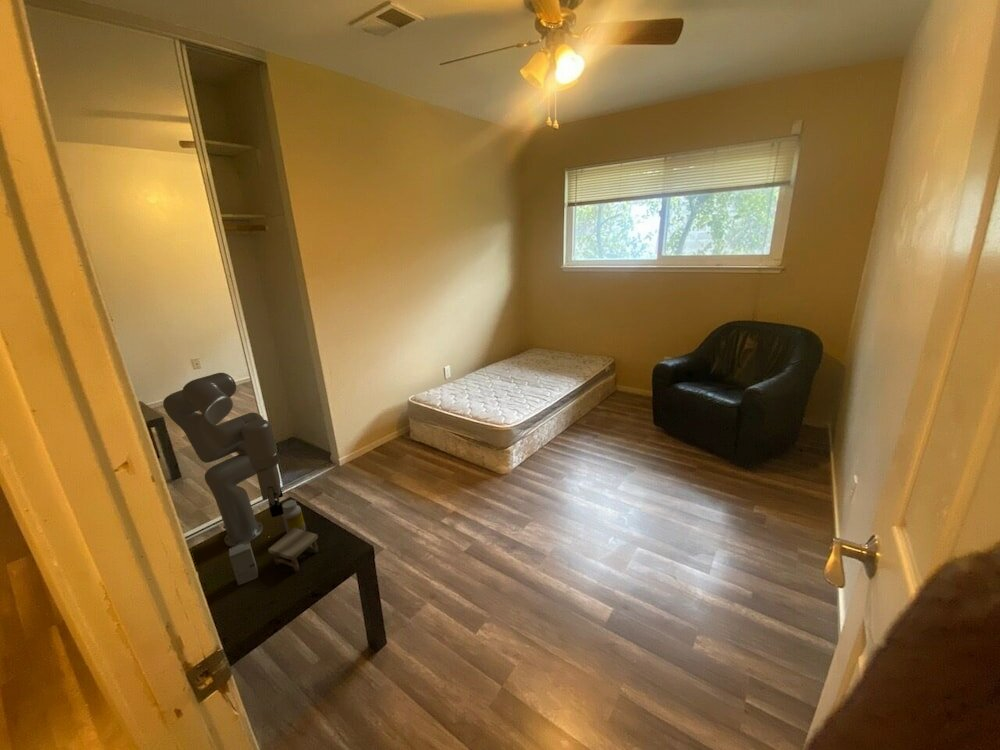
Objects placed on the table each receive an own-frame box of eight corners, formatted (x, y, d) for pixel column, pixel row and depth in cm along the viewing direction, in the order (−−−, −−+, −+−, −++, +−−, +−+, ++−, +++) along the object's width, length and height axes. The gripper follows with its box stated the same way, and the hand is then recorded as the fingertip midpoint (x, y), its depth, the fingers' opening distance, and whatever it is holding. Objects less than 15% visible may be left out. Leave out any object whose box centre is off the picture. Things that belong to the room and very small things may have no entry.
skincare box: (238, 586, 131) (227, 557, 127) (237, 577, 134) (227, 548, 130) (259, 577, 134) (250, 548, 130) (258, 568, 138) (249, 540, 133)
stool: (272, 565, 139) (267, 549, 136) (298, 542, 148) (294, 527, 146) (296, 573, 135) (292, 557, 132) (321, 549, 144) (317, 534, 142)
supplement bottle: (310, 528, 156) (302, 500, 151) (295, 539, 150) (287, 511, 146) (297, 523, 158) (290, 496, 154) (283, 534, 153) (275, 507, 148)
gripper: (251, 450, 127) (264, 495, 133) (249, 478, 112) (263, 527, 118) (278, 443, 130) (289, 488, 136) (279, 470, 115) (292, 518, 122)
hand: (277, 506), depth 127 cm, fingers open, 9 cm apart
